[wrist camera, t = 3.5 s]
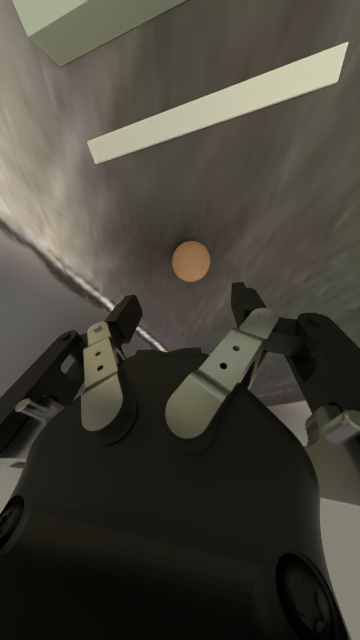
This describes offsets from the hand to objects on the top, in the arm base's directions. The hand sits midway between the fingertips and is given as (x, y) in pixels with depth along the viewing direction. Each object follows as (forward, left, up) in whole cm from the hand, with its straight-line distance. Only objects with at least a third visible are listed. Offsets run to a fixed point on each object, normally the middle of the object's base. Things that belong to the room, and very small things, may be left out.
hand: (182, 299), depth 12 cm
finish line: (-2, -12, -12) cm, 17 cm away
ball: (0, 0, -9) cm, 9 cm away
